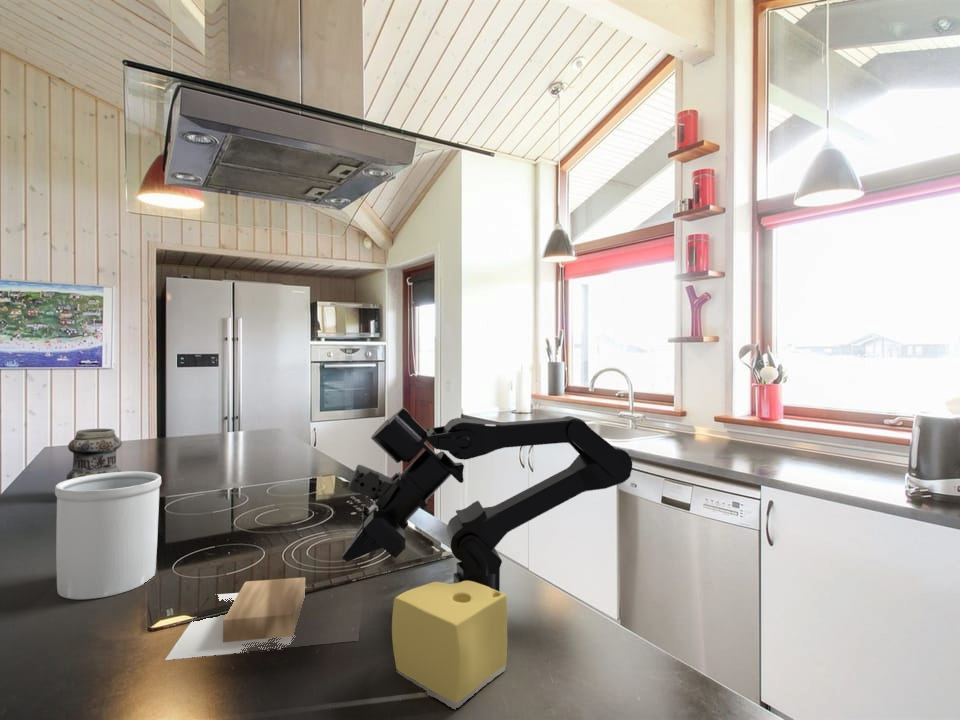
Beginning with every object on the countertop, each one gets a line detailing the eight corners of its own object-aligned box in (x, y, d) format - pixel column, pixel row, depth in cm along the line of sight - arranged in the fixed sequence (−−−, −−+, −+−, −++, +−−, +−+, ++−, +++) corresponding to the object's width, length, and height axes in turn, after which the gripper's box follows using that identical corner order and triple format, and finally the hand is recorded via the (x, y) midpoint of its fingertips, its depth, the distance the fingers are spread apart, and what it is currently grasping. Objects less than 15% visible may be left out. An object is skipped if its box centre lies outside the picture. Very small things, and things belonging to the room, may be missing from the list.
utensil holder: (143, 557, 99) (144, 466, 99) (174, 579, 89) (174, 478, 89) (44, 583, 87) (45, 480, 87) (67, 611, 78) (68, 496, 78)
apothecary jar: (129, 494, 143) (129, 429, 143) (78, 504, 133) (78, 434, 133) (109, 487, 150) (109, 425, 149) (58, 497, 139) (58, 430, 139)
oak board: (305, 577, 83) (245, 581, 81) (293, 614, 71) (223, 620, 69) (305, 595, 83) (245, 600, 81) (293, 635, 71) (222, 642, 69)
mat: (363, 586, 87) (363, 583, 87) (359, 644, 70) (359, 641, 70) (209, 598, 83) (209, 594, 83) (164, 664, 65) (164, 660, 65)
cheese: (448, 642, 71) (448, 569, 71) (511, 673, 64) (512, 593, 64) (390, 678, 63) (390, 596, 63) (455, 718, 56) (456, 626, 56)
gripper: (380, 438, 88) (312, 506, 86) (380, 459, 70) (295, 546, 68) (426, 481, 90) (361, 549, 88) (438, 514, 71) (356, 601, 69)
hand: (344, 559), depth 78 cm, fingers closed
